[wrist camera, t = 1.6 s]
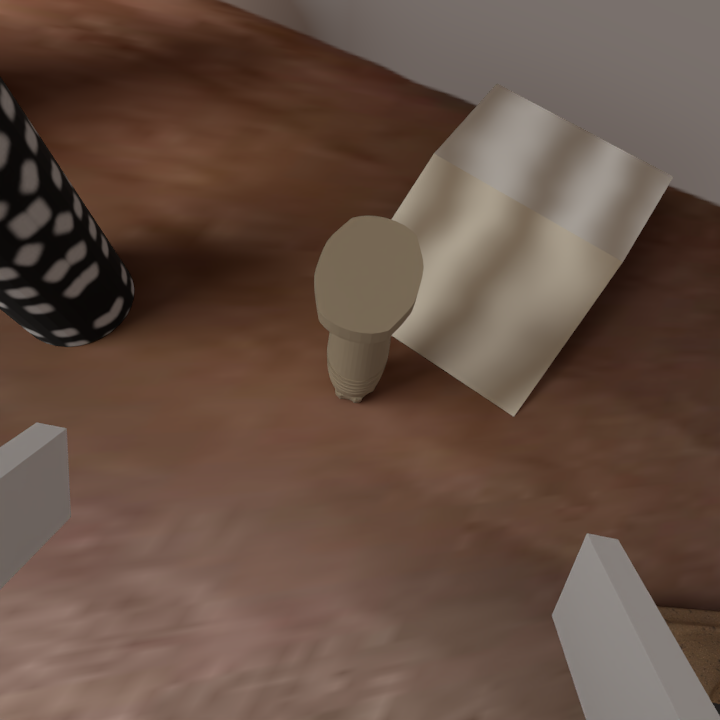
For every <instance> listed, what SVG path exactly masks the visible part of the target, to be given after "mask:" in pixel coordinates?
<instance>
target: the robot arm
mask: <svg viewBox="0 0 720 720" xmlns="http://www.w3.org/2000/svg"><path fill="white" fill-rule="evenodd" d="M70 517H71V510H70V489H69V468H68V447H67V428H62V427H57V426H52V425H47V424H42V423H35V424H34V425H33V426H31V427H30V428H28V429H27V430H25V431H24V432H22V433H21V434H19V435H18V436H16V437H15V438H13V439H12V440H10V441H9V442H7V443H6V444H4V445H3V446H1V447H0V589H1V588H2V587H3V586H4V585H5V584H6V583H7V582H8V581H9V580H10V579H11V578H12V577H13V576H14V575H15V574H16V573H17V572H18V571H19V570H20V569H21V568H22V567H23V566H24V565H25V564H26V563H27V562H28V560H29V559H30V558H31V557H32V556H33V555H34V554H35V553H36V552H37V551H38V550H39V549H40V548H41V547H42V546H43V545H44V544H45V543H46V542H47V541H48V540H49V539H50V538H51V537H52V536H53V535H54V534H55V533H56V532H57V531H58V530H59V529H60V528H61V527H62V526H63V525H64V524H65V522H66V521H67V520H68V519H69V518H70ZM552 618H553V621H554V624H555V627H556V630H557V633H558V636H559V639H560V642H561V645H562V648H563V651H564V654H565V657H566V660H567V663H568V667H569V670H570V673H571V676H572V679H573V682H574V685H575V688H576V691H577V694H578V697H579V700H580V703H581V706H582V709H583V712H584V715H585V718H586V720H720V704H717V703H713V702H711V700H710V698H709V696H708V695H707V693H706V691H705V690H704V688H703V686H702V684H701V683H700V681H699V679H698V677H697V676H696V674H695V672H694V670H693V669H692V667H691V665H690V664H689V662H688V660H687V658H686V657H685V655H684V653H683V651H682V650H681V648H680V646H679V644H678V643H677V641H676V639H675V637H674V636H673V634H672V632H671V631H670V629H669V627H668V625H667V624H666V622H665V620H664V618H663V617H662V615H661V613H660V611H659V610H658V608H657V606H656V605H655V603H654V601H653V599H652V598H651V596H650V594H649V592H648V591H647V589H646V587H645V585H644V584H643V582H642V580H641V578H640V577H639V575H638V573H637V572H636V570H635V568H634V566H633V565H632V563H631V561H630V559H629V558H628V556H627V554H626V552H625V551H624V549H623V547H622V546H621V544H620V542H619V540H618V539H613V538H608V537H603V536H598V535H593V534H588V533H587V534H586V537H585V539H584V541H583V544H582V546H581V548H580V551H579V553H578V555H577V558H576V560H575V562H574V565H573V567H572V569H571V572H570V574H569V576H568V579H567V581H566V583H565V586H564V588H563V590H562V593H561V595H560V597H559V600H558V602H557V604H556V607H555V609H554V611H553V614H552Z"/></svg>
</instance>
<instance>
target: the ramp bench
mask: <svg viewBox="0 0 720 720" xmlns="http://www.w3.org/2000/svg"><path fill="white" fill-rule="evenodd" d="M672 178H673V176H670V175H669V174H667V173H665V172H663V171H661V170H659V169H657V168H656V167H654V166H652V165H650V164H648V163H646V162H644V161H642V160H640V159H638V158H637V157H635V156H633V155H631V154H629V153H627V152H625V151H623V150H622V149H620V148H618V147H616V146H614V145H612V144H610V143H608V142H606V141H605V140H603V139H601V138H599V137H597V136H595V135H593V134H591V133H589V132H588V131H586V130H584V129H582V128H580V127H578V126H576V125H574V124H572V123H570V122H568V121H567V120H565V119H563V118H561V117H559V116H557V115H555V114H553V113H552V112H550V111H548V110H546V109H544V108H542V107H540V106H538V105H536V104H534V103H533V102H531V101H529V100H527V99H525V98H523V97H521V96H519V95H518V94H516V93H514V92H512V91H510V90H508V89H506V88H504V87H502V86H500V85H499V84H496V85H495V86H494V87H493V89H492V90H491V91H490V92H489V93H488V94H487V95H486V96H485V97H484V99H483V100H482V101H481V102H480V103H479V104H478V105H477V106H476V107H475V109H474V110H473V111H472V112H471V113H470V114H469V115H468V116H467V117H466V119H465V120H464V121H463V122H462V123H461V124H460V125H459V126H458V128H457V129H456V130H455V131H454V132H453V133H452V134H451V135H450V136H449V138H448V139H447V140H446V141H445V142H444V143H443V144H442V145H441V146H440V148H439V149H438V150H437V151H436V152H435V153H434V154H433V156H432V158H431V159H430V161H429V162H428V164H427V165H426V167H425V168H424V170H423V171H422V173H421V175H420V176H419V178H418V179H417V181H416V182H415V184H414V185H413V187H412V188H411V190H410V192H409V193H408V195H407V196H406V198H405V199H404V201H403V202H402V204H401V206H400V207H399V209H398V210H397V212H396V213H395V215H394V216H393V218H392V219H391V220H394V221H397V222H399V223H401V224H403V225H405V226H406V227H407V228H409V229H410V230H411V231H413V232H414V233H415V234H416V235H417V238H418V242H419V246H420V249H421V253H422V258H423V266H424V269H423V276H422V280H421V284H420V287H419V291H418V294H417V298H416V301H415V304H414V307H413V310H412V312H411V314H410V315H409V316H408V318H407V319H406V320H405V321H404V323H403V324H402V325H401V326H400V327H399V328H398V329H397V330H396V331H395V332H394V333H393V334H392V336H393V337H395V338H396V339H398V340H399V341H401V342H402V343H404V344H405V345H407V346H408V347H410V348H411V349H413V350H414V351H416V352H417V353H419V354H420V355H422V356H423V357H425V358H426V359H428V360H429V361H431V362H432V363H434V364H435V365H437V366H438V367H440V368H441V369H443V370H444V371H446V372H447V373H449V374H450V375H452V376H453V377H455V378H456V379H458V380H459V381H461V382H462V383H464V384H465V385H467V386H468V387H470V388H471V389H473V390H474V391H476V392H477V393H479V394H480V395H482V396H483V397H485V398H486V399H488V400H489V401H491V402H492V403H494V404H495V405H497V406H498V407H500V408H501V409H503V410H504V411H506V412H507V413H509V414H510V415H512V416H513V417H514V416H515V414H516V413H517V412H518V410H519V409H520V407H521V406H522V405H523V403H524V402H525V400H526V399H527V397H528V396H529V395H530V393H531V392H532V390H533V389H534V388H535V386H536V385H537V383H538V382H539V380H540V379H541V378H542V376H543V375H544V373H545V372H546V370H547V369H548V368H549V366H550V365H551V363H552V362H553V361H554V359H555V358H556V356H557V355H558V353H559V352H560V351H561V349H562V348H563V346H564V345H565V343H566V342H567V341H568V339H569V338H570V336H571V335H572V334H573V332H574V331H575V329H576V328H577V326H578V325H579V324H580V322H581V321H582V319H583V318H584V317H585V315H586V314H587V312H588V311H589V309H590V308H591V307H592V305H593V304H594V302H595V301H596V299H597V298H598V297H599V295H600V294H601V292H602V291H603V290H604V288H605V287H606V285H607V284H608V282H609V281H610V280H611V278H612V277H613V275H614V274H615V273H616V271H617V270H618V268H619V267H620V265H621V264H622V263H623V261H624V259H625V258H626V256H627V254H628V253H629V251H630V249H631V248H632V246H633V244H634V242H635V241H636V239H637V237H638V236H639V234H640V232H641V231H642V229H643V227H644V226H645V224H646V222H647V221H648V219H649V217H650V215H651V214H652V212H653V210H654V209H655V207H656V205H657V204H658V202H659V200H660V199H661V197H662V195H663V194H664V192H665V190H666V189H667V187H668V185H669V183H670V182H671V180H672Z"/></svg>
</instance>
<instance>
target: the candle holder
mask: <svg viewBox="0 0 720 720" xmlns="http://www.w3.org/2000/svg"><path fill="white" fill-rule="evenodd" d="M657 608H658V610H659V611H660V613H661V615H662V617H663V618H664V620H665V622H666V624H667V625H668V627H669V629H670V631H671V632H672V634H673V636H674V637H675V639H676V641H677V643H678V644H679V646H680V648H681V650H682V651H683V653H684V655H685V657H686V658H687V660H688V662H689V664H690V665H691V667H692V669H693V670H694V672H695V674H696V676H697V677H698V679H699V681H700V683H701V684H702V686H703V688H704V690H705V691H706V693H707V695H708V696H709V698H710V700H711V702H713V703H717V704H720V611H710V610H698V609H687V608H675V607H663V606H657Z"/></svg>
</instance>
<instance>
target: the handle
mask: <svg viewBox="0 0 720 720" xmlns="http://www.w3.org/2000/svg"><path fill="white" fill-rule="evenodd" d="M423 269H424V266H423V258H422V253H421V249H420V246H419V242H418V238H417V235H416V234H415V233H414V232H413V231H411V230H410V229H409V228H407V227H406V226H405V225H403V224H401V223H399V222H397V221H394V220H391V219H388V218H383V217H379V216H359V217H354V218H351V219H350V220H349V221H348V222H347V223H345V224H344V225H343V226H342V227H341V228H340V229H339V230H337V231H336V232H335V233H334V234H333V235H332V236H331V237H330V239H329V240H328V241H327V243H326V244H325V246H324V248H323V251H322V253H321V256H320V258H319V261H318V264H317V266H316V270H315V274H314V290H315V299H316V306H317V312H318V318H319V322H320V323H321V324H322V325H323V326H324V327H325V328H326V329H327V330H328V331H329V332H330V333H329V339H328V346H327V364H328V372H329V376H330V379H331V382H332V384H333V386H334V387H335V389H336V390H335V392H336V395H337V396H338V397H339V398H340V399H343V398H344V399H349V400H351V401H353V402H354V403H358V402H361V400H362V398H363V397H364V396H365V395H367V394H368V393H370V392H373V391H374V389H375V387H376V385H377V383H378V382H379V380H380V378H381V376H382V374H383V371H384V368H385V366H386V362H387V359H388V354H389V347H390V340H391V335H392V334H393V333H394V332H395V331H396V330H397V329H398V328H399V327H400V326H401V325H402V324H403V323H404V321H405V320H406V319H407V318H408V316H409V315H410V314H411V312H412V310H413V307H414V304H415V301H416V298H417V294H418V291H419V287H420V284H421V280H422V276H423Z"/></svg>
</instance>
